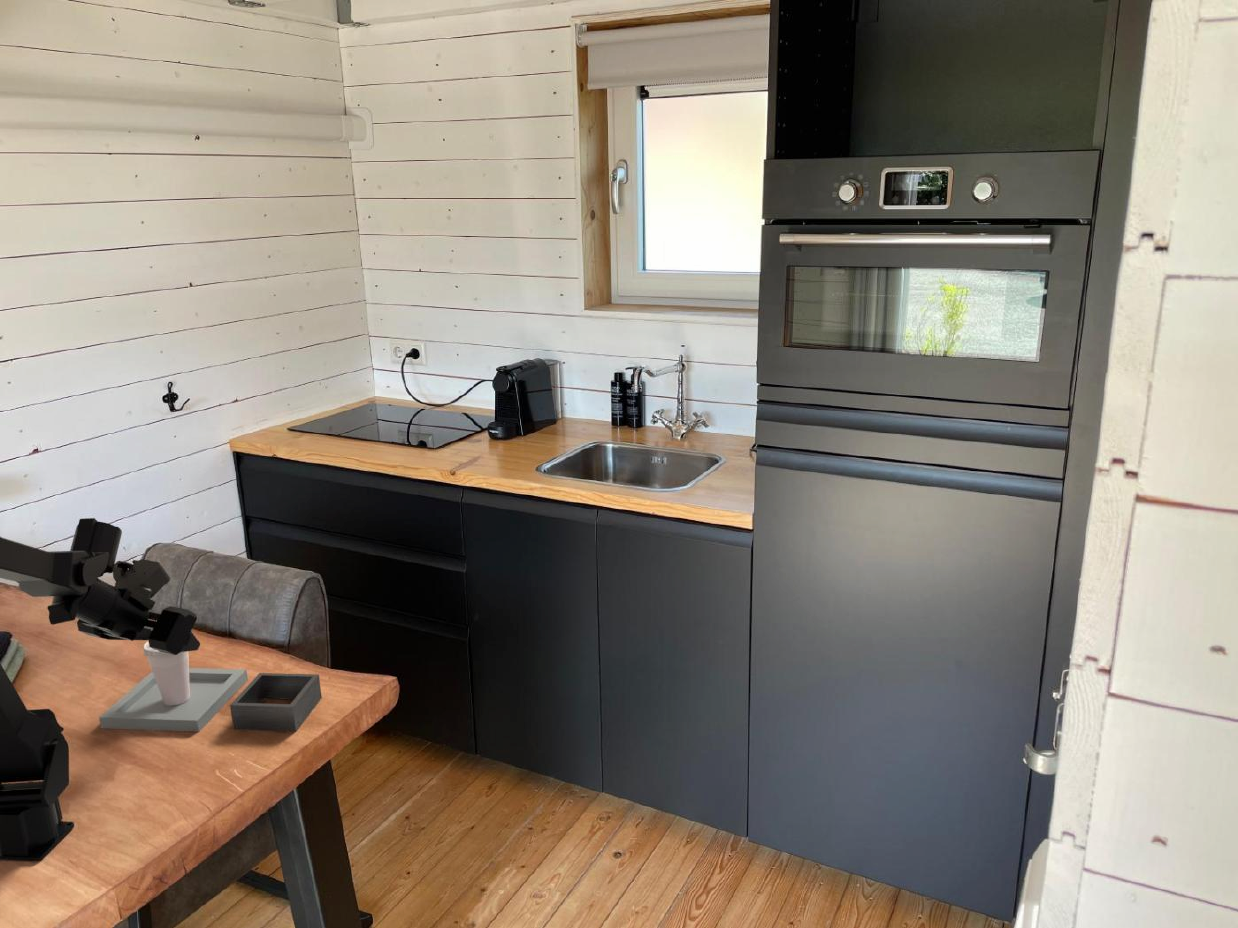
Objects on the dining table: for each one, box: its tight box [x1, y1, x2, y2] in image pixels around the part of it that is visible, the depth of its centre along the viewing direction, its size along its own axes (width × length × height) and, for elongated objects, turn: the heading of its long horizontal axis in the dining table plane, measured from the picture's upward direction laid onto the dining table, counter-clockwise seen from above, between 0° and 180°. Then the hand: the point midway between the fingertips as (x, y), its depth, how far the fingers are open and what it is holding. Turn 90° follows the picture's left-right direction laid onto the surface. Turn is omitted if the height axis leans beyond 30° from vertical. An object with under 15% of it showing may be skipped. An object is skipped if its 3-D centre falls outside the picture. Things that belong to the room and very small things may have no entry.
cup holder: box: [229, 672, 322, 733], centre depth 138 cm, size 9×9×4 cm
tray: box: [98, 667, 248, 732], centre depth 142 cm, size 15×15×2 cm
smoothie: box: [142, 640, 190, 706], centre depth 140 cm, size 6×6×14 cm
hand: (175, 641), depth 141 cm, fingers open, 9 cm apart
